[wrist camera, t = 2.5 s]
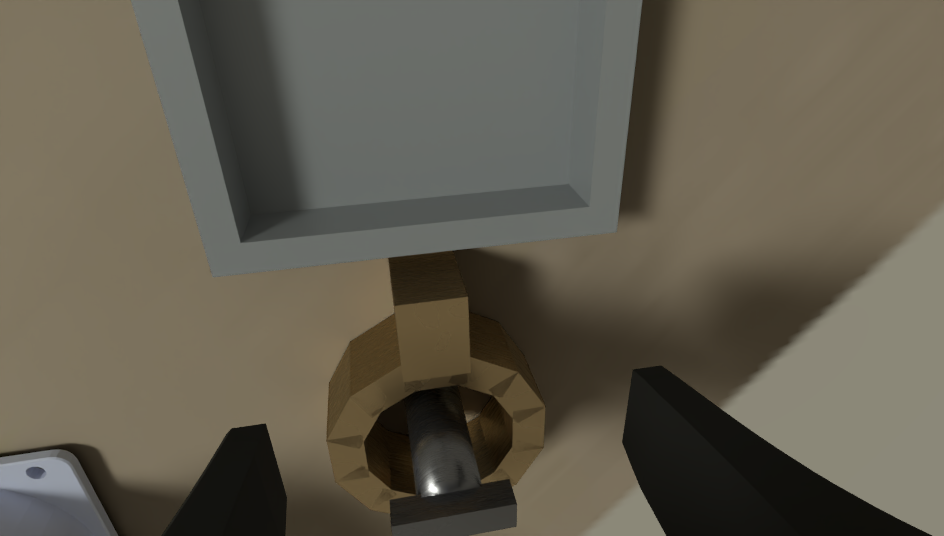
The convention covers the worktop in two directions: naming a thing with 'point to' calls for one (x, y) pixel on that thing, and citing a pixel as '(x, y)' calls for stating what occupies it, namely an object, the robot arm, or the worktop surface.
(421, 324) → the ring
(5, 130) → the worktop surface
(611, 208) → the tray
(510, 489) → the bolt
